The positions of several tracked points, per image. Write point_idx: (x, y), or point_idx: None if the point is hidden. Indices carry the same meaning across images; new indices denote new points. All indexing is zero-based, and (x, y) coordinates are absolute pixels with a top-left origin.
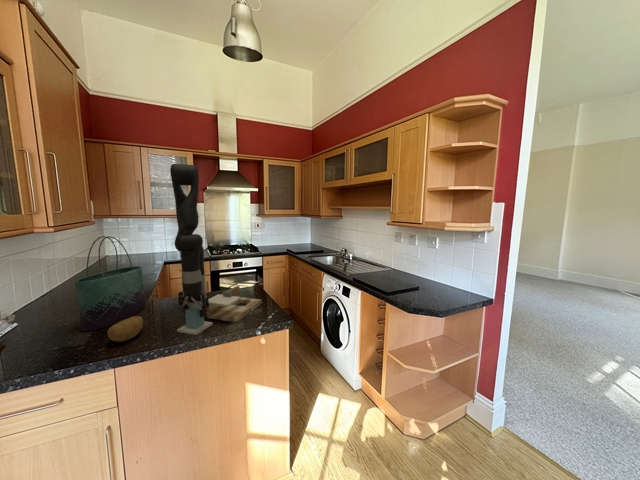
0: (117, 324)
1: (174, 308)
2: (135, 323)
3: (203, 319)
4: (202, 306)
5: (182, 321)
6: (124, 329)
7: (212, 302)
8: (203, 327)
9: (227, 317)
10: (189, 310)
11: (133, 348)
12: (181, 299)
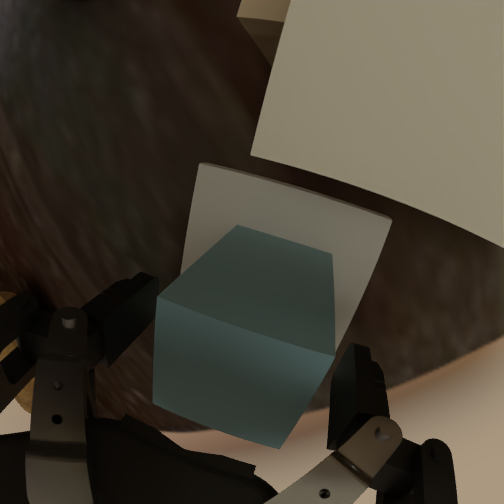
0: (17, 400)
1: (26, 39)
2: (32, 381)
3: (331, 274)
4: (369, 485)
5: (122, 170)
6: None
7: (474, 221)
8: (349, 308)
9: None
10: (200, 417)
11: (123, 405)
12: (9, 390)
